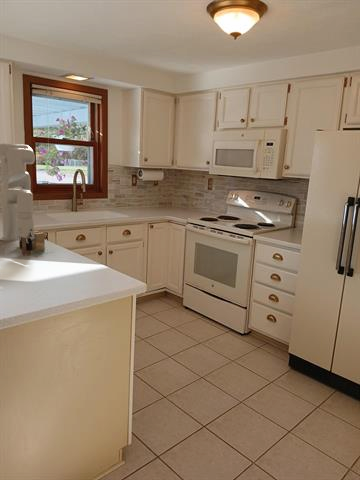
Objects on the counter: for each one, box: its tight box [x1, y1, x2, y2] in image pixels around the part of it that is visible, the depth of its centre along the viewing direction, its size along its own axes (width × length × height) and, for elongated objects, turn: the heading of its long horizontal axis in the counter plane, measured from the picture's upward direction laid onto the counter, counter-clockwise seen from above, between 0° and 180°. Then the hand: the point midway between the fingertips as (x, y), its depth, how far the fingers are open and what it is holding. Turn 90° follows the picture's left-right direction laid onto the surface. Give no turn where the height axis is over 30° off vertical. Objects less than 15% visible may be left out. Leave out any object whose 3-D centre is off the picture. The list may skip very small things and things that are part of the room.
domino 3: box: [34, 232, 46, 252], centre depth 202 cm, size 2×5×10 cm, turn 144°
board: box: [16, 246, 53, 256], centre depth 206 cm, size 24×8×1 cm, turn 54°
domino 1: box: [21, 237, 32, 256], centre depth 193 cm, size 2×5×10 cm, turn 54°
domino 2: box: [31, 230, 40, 251], centre depth 204 cm, size 2×5×10 cm, turn 144°
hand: (26, 249), depth 194 cm, fingers closed on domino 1, 4 cm apart
